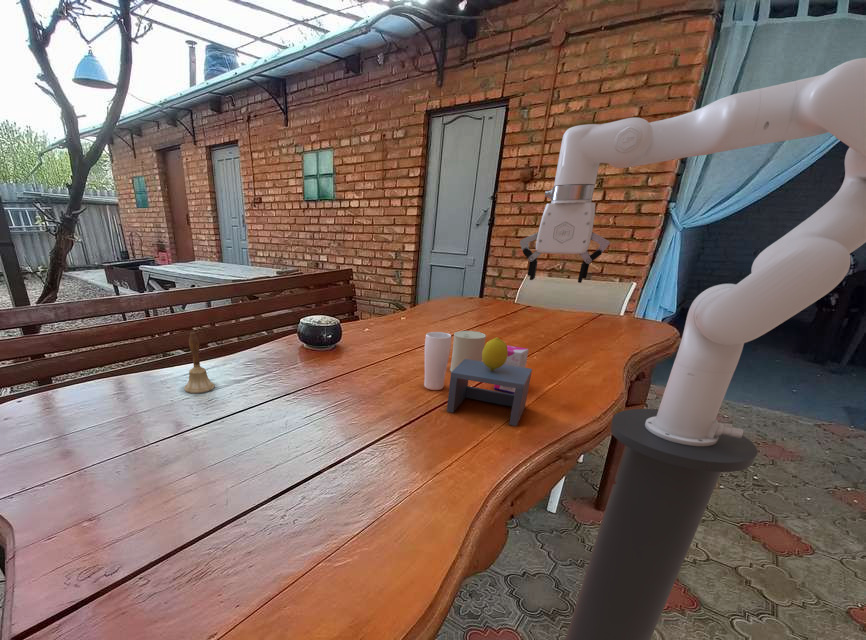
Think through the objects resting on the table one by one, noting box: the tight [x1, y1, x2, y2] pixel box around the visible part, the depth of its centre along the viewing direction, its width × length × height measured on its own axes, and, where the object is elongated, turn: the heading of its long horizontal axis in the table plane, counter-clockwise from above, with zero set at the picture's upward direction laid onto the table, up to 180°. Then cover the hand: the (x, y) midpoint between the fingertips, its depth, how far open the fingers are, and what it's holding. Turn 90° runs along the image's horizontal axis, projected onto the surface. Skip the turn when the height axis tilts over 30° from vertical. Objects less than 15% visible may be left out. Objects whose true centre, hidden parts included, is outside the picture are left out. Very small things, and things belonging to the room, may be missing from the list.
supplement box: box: [493, 345, 529, 394], centre depth 114 cm, size 6×6×12 cm
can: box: [449, 330, 487, 373], centre depth 128 cm, size 9×9×12 cm
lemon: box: [482, 337, 508, 371], centre depth 99 cm, size 6×6×8 cm
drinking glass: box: [423, 331, 452, 391], centre depth 115 cm, size 7×7×15 cm
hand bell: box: [183, 331, 216, 394], centre depth 117 cm, size 8×8×16 cm
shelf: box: [446, 359, 533, 427], centre depth 102 cm, size 16×12×10 cm
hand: (555, 280), depth 95 cm, fingers open, 9 cm apart
